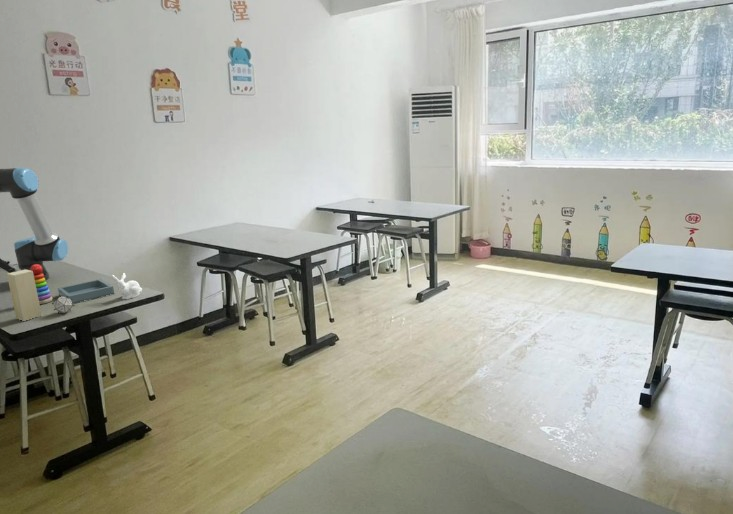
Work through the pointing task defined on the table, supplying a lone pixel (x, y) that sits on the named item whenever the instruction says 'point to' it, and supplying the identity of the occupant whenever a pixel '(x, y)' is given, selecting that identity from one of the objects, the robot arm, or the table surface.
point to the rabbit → (127, 287)
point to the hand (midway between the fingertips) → (24, 276)
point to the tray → (86, 290)
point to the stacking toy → (41, 285)
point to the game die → (63, 304)
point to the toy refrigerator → (24, 294)
